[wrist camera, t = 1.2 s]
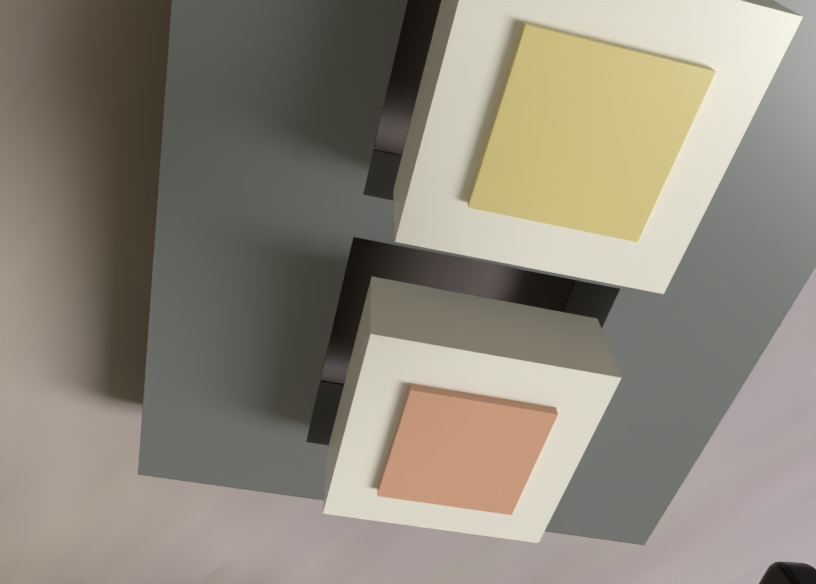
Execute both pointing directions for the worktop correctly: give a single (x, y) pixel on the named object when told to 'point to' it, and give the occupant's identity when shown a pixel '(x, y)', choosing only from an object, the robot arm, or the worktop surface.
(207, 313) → the keypad board
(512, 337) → the key
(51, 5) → the worktop surface
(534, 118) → the key
